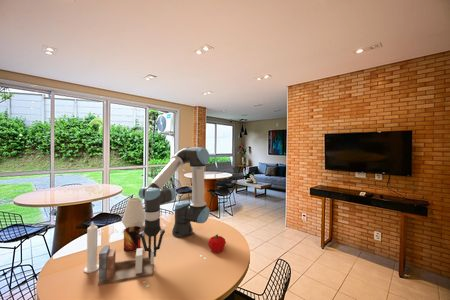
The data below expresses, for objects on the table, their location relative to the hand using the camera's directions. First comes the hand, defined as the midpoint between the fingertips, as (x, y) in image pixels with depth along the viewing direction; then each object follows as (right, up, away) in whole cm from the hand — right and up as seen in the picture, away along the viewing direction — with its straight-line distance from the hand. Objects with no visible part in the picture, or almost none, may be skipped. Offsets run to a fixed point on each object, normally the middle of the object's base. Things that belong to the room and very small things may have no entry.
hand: (152, 262), depth 105 cm
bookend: (-6, -2, -2) cm, 7 cm away
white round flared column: (-31, -3, -1) cm, 31 cm away
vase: (-34, -3, +54) cm, 64 cm away
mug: (-19, -3, +21) cm, 29 cm away
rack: (-11, -3, -4) cm, 12 cm away
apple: (+33, -4, +21) cm, 39 cm away
